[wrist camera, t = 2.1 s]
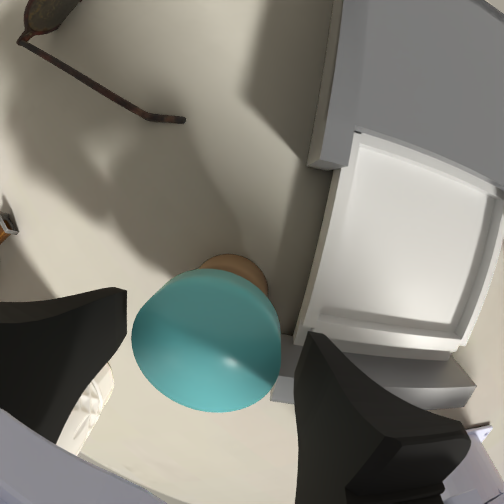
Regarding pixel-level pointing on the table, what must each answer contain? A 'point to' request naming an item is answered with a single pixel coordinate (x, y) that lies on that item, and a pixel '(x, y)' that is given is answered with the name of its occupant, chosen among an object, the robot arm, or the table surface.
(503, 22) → the housing
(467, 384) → the tray
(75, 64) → the table surface
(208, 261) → the pedestal
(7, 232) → the brown slender angled part
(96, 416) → the white cup
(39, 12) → the eyeglasses
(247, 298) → the teal rounded dome
